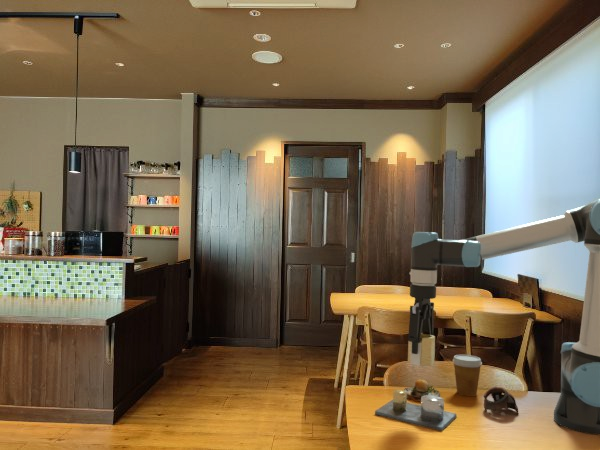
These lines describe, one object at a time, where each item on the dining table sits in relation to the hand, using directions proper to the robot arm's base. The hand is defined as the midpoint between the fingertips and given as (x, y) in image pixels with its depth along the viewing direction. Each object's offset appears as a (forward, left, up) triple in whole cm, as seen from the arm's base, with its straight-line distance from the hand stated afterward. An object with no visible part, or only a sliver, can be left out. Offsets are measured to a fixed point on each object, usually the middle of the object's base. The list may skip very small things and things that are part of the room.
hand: (420, 361), depth 144 cm
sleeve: (0, 0, 0) cm, 0 cm away
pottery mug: (-18, -20, -16) cm, 31 cm away
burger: (+6, -18, -16) cm, 25 cm away
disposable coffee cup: (-5, -31, -16) cm, 35 cm away
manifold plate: (+1, 0, -16) cm, 16 cm away
